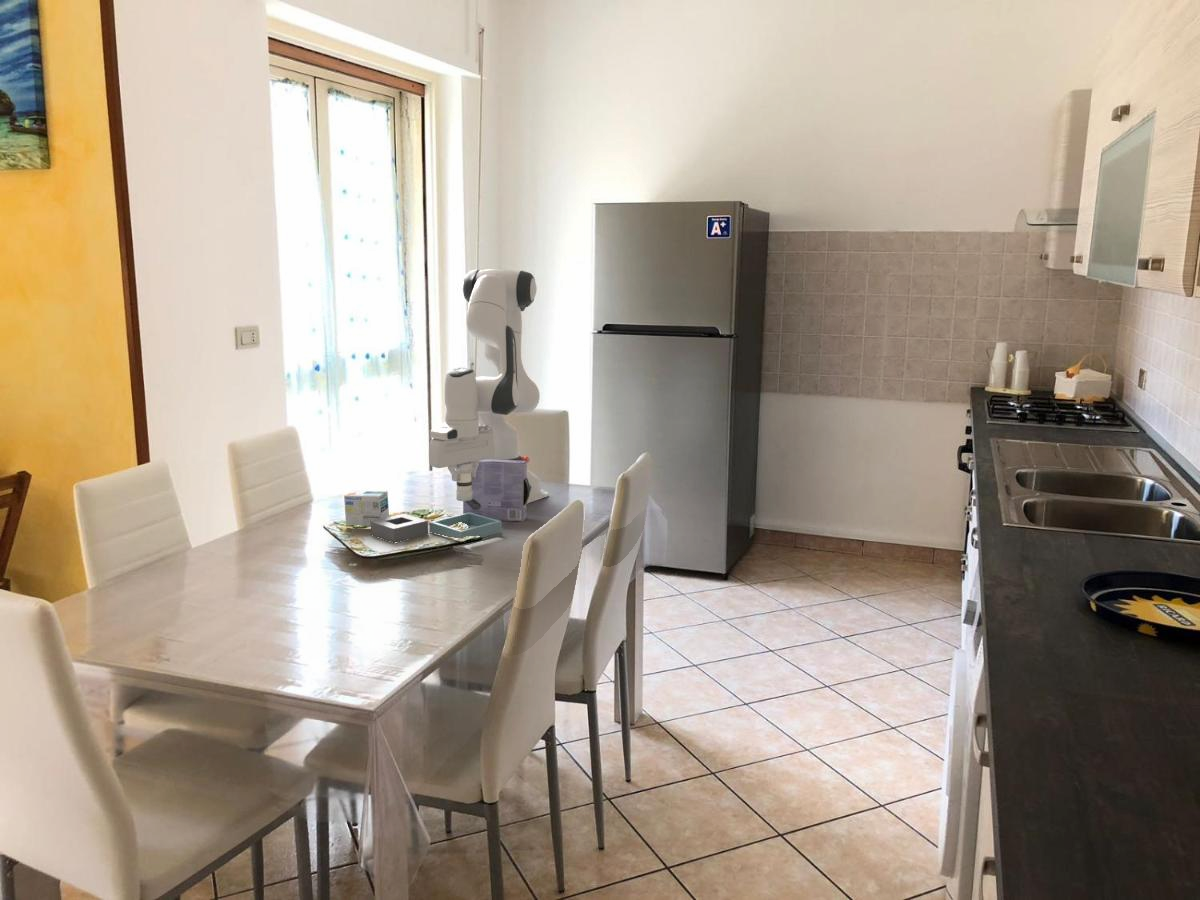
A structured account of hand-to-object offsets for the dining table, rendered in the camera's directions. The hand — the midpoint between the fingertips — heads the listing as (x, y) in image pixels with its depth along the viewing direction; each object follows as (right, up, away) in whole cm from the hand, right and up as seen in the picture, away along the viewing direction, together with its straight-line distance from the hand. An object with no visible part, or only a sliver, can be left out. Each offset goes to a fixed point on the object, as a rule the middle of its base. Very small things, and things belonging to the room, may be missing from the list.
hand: (463, 479), depth 254 cm
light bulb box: (-28, -15, +10) cm, 33 cm away
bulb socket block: (-18, -16, +1) cm, 24 cm away
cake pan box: (+7, -13, +20) cm, 25 cm away
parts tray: (0, -16, +3) cm, 16 cm away
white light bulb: (0, -6, +1) cm, 6 cm away
